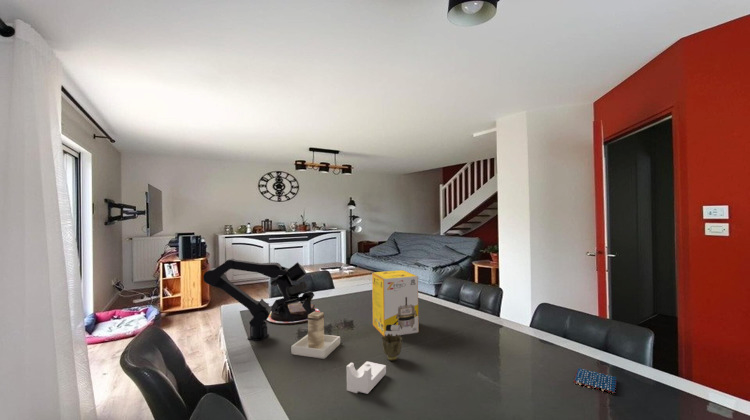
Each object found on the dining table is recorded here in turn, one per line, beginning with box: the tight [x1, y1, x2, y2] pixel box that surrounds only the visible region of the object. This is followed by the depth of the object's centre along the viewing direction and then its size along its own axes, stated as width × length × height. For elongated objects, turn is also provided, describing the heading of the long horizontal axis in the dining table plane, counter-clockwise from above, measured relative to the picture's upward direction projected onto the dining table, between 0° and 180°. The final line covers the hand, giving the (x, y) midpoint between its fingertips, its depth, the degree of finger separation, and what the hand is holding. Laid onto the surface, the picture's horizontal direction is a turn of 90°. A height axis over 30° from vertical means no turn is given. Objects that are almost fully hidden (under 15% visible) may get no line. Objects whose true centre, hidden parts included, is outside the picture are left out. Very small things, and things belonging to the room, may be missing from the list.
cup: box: [381, 334, 403, 362], centre depth 115 cm, size 8×7×8 cm
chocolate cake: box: [265, 302, 321, 325], centre depth 167 cm, size 28×28×7 cm
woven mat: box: [573, 367, 617, 394], centre depth 98 cm, size 10×11×2 cm
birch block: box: [307, 311, 325, 349], centre depth 125 cm, size 5×5×13 cm
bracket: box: [346, 360, 387, 394], centre depth 100 cm, size 13×7×8 cm, turn 154°
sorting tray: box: [290, 334, 341, 360], centre depth 125 cm, size 14×14×3 cm
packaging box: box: [371, 269, 420, 337], centre depth 146 cm, size 16×16×25 cm
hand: (302, 318), depth 131 cm, fingers open, 9 cm apart
